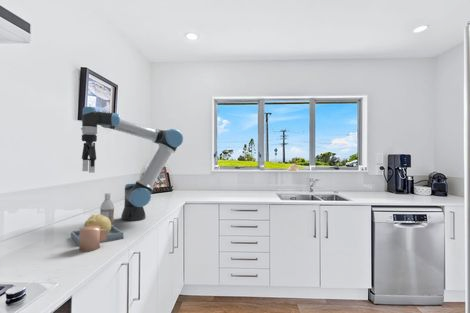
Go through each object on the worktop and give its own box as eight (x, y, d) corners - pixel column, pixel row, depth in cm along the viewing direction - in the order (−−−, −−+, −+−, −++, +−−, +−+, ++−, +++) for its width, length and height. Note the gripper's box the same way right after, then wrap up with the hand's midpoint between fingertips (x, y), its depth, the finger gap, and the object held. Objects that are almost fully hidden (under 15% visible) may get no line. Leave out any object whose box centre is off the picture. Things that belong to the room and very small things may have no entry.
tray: (112, 231, 149) (112, 225, 149) (123, 238, 137) (123, 232, 137) (70, 237, 136) (70, 231, 136) (78, 246, 124) (78, 239, 124)
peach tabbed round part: (77, 247, 122) (77, 227, 122) (103, 243, 129) (103, 224, 129) (81, 252, 116) (82, 231, 116) (108, 247, 123) (109, 227, 123)
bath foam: (113, 230, 152) (114, 194, 152) (99, 231, 149) (100, 194, 149) (113, 227, 158) (114, 192, 158) (99, 228, 155) (100, 192, 155)
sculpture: (89, 233, 141) (89, 212, 141) (113, 232, 143) (114, 212, 143) (80, 239, 130) (81, 217, 130) (107, 239, 132) (107, 216, 132)
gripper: (76, 134, 162) (75, 170, 162) (88, 132, 143) (86, 173, 143) (90, 135, 167) (89, 170, 167) (103, 133, 149) (102, 173, 148)
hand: (88, 171), depth 155 cm, fingers open, 13 cm apart
